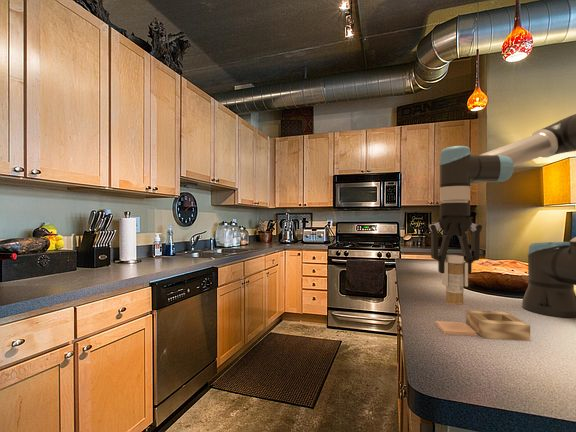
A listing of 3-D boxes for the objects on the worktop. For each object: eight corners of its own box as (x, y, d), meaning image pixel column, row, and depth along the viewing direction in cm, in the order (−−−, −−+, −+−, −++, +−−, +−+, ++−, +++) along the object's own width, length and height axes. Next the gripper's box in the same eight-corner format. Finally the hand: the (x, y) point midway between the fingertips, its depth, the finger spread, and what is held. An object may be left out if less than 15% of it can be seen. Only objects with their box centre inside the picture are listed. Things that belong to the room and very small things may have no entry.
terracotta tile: (464, 325, 90) (464, 322, 90) (476, 335, 82) (476, 332, 82) (435, 323, 91) (435, 321, 91) (444, 333, 83) (444, 331, 83)
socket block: (507, 325, 89) (507, 312, 89) (530, 340, 79) (530, 325, 79) (466, 323, 91) (466, 310, 91) (483, 338, 80) (483, 322, 80)
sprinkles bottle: (453, 300, 90) (453, 254, 90) (467, 304, 85) (467, 256, 85) (441, 302, 88) (441, 255, 88) (455, 306, 84) (455, 257, 84)
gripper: (482, 202, 89) (482, 283, 89) (418, 203, 92) (418, 281, 92) (495, 201, 82) (495, 289, 82) (425, 202, 84) (425, 286, 84)
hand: (454, 284), depth 87 cm, fingers closed on sprinkles bottle, 4 cm apart
